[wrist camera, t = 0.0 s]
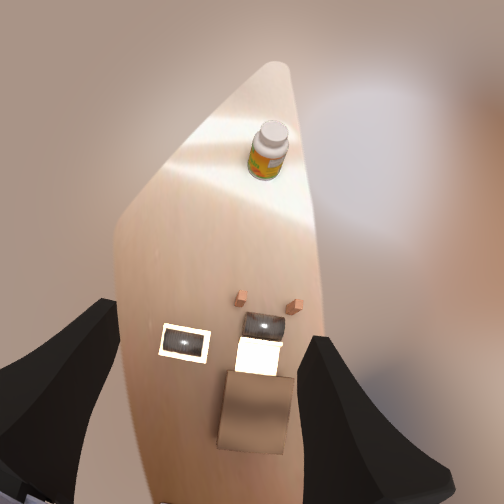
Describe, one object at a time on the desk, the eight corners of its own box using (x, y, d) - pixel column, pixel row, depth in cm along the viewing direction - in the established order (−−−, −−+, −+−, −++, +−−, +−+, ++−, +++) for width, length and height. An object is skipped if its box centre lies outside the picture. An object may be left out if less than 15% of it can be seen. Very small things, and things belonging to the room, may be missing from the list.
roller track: (264, 449, 38) (268, 456, 35) (147, 432, 37) (143, 437, 34) (282, 319, 44) (288, 316, 41) (169, 299, 43) (166, 295, 40)
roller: (204, 335, 42) (204, 334, 39) (201, 357, 41) (200, 357, 38) (168, 329, 42) (165, 326, 39) (164, 350, 41) (161, 349, 38)
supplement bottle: (242, 159, 52) (249, 121, 43) (270, 151, 53) (282, 113, 44) (255, 185, 51) (265, 148, 42) (285, 176, 52) (299, 140, 43)
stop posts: (292, 314, 45) (302, 309, 40) (234, 306, 44) (238, 299, 39) (293, 306, 45) (303, 300, 40) (236, 297, 44) (239, 290, 40)
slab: (278, 449, 35) (282, 454, 33) (216, 443, 35) (216, 448, 32) (289, 377, 39) (294, 378, 36) (227, 369, 38) (228, 370, 36)
